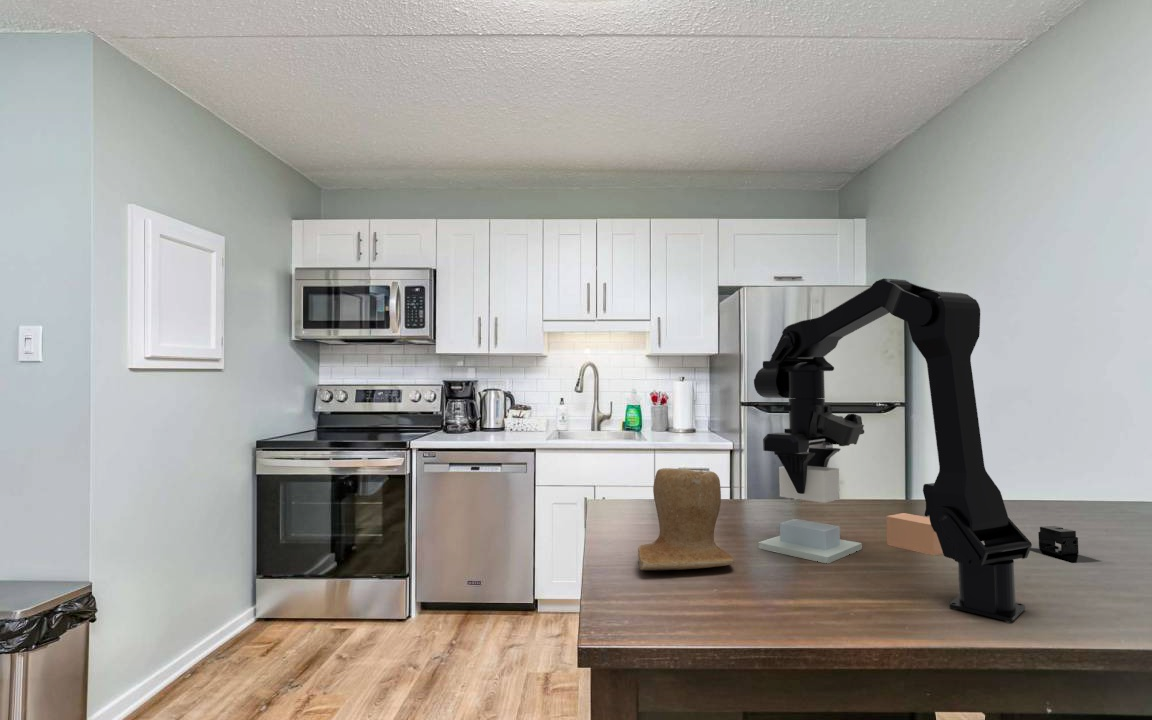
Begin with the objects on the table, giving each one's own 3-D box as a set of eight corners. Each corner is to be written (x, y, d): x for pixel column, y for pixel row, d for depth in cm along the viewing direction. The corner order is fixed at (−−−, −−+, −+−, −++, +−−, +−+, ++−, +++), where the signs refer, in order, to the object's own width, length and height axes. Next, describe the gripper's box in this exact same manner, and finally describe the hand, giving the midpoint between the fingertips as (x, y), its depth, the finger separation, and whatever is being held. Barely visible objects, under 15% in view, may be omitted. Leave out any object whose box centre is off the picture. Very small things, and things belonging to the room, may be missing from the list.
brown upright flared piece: (713, 552, 100) (711, 461, 101) (743, 574, 88) (741, 471, 89) (623, 557, 98) (622, 463, 99) (642, 580, 86) (640, 474, 87)
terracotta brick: (934, 556, 97) (933, 525, 97) (887, 545, 104) (886, 516, 104) (951, 552, 100) (950, 521, 100) (904, 541, 107) (903, 512, 107)
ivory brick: (825, 502, 97) (824, 471, 98) (779, 496, 103) (779, 466, 104) (839, 498, 101) (838, 468, 101) (794, 492, 107) (794, 464, 107)
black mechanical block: (1117, 567, 92) (1115, 536, 92) (1076, 570, 91) (1075, 539, 91) (1041, 546, 104) (1040, 519, 105) (1005, 548, 103) (1003, 521, 103)
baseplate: (827, 563, 93) (827, 537, 93) (758, 548, 102) (757, 524, 102) (861, 549, 101) (861, 525, 101) (794, 536, 110) (794, 514, 110)
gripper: (826, 400, 91) (829, 505, 90) (878, 398, 103) (881, 490, 102) (760, 399, 99) (762, 496, 98) (815, 397, 111) (818, 483, 111)
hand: (808, 491), depth 102 cm, fingers closed on ivory brick, 5 cm apart
